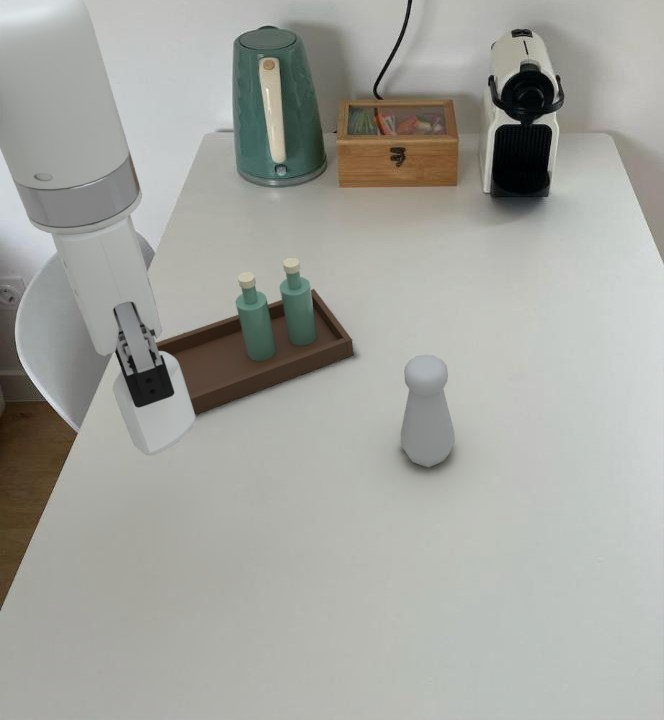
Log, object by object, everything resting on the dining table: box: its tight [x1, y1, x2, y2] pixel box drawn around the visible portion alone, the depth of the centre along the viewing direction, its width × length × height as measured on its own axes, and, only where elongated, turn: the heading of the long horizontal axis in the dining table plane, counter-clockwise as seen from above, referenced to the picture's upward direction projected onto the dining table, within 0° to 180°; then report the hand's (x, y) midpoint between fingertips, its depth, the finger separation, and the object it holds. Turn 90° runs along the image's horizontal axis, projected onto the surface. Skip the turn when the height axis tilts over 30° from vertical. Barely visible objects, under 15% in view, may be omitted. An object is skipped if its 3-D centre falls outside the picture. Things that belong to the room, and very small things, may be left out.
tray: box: [155, 288, 355, 416], centre depth 99 cm, size 24×12×3 cm, turn 118°
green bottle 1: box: [235, 271, 276, 361], centre depth 96 cm, size 4×4×11 cm
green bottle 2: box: [279, 257, 317, 346], centre depth 98 cm, size 4×4×11 cm
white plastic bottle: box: [112, 340, 197, 457], centre depth 67 cm, size 4×6×12 cm
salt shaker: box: [400, 354, 456, 468], centre depth 83 cm, size 6×6×13 cm
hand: (147, 379), depth 66 cm, fingers closed on white plastic bottle, 4 cm apart
